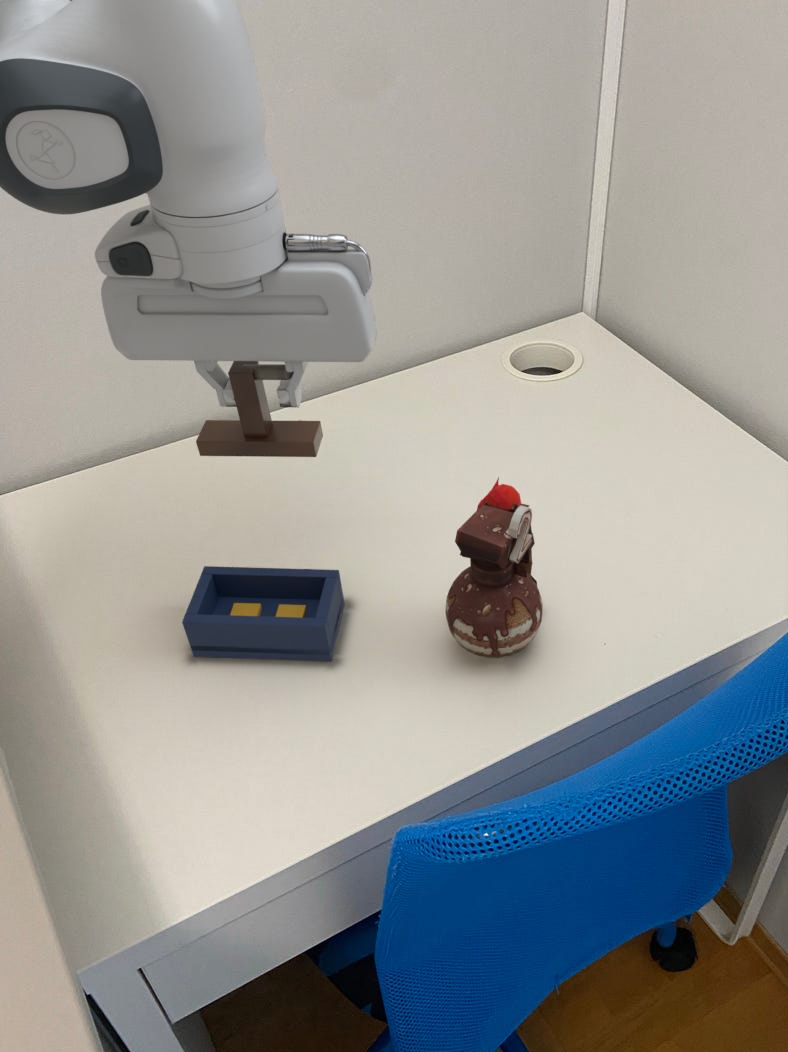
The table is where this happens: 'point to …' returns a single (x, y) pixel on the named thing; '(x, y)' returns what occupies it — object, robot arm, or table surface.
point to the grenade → (496, 578)
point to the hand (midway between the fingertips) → (261, 403)
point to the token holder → (265, 613)
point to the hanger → (258, 420)
